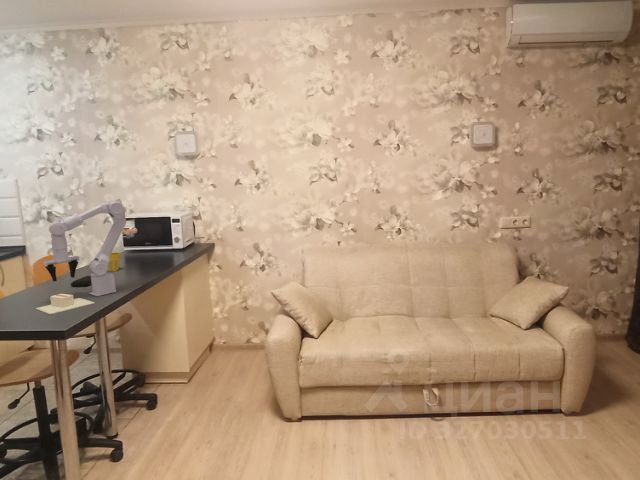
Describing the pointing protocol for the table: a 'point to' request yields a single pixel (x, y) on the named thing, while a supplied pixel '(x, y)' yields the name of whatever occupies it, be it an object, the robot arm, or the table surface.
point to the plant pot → (114, 262)
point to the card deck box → (62, 300)
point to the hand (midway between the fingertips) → (63, 279)
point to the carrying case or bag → (82, 282)
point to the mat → (54, 309)
